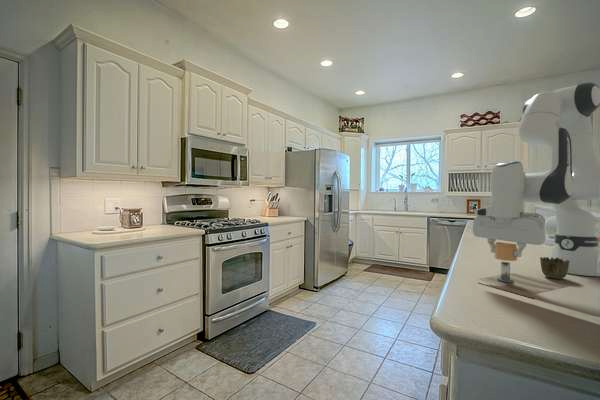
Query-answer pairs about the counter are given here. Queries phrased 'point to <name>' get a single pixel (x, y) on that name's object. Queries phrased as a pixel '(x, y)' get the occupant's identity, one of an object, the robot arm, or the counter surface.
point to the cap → (505, 251)
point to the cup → (554, 267)
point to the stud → (505, 273)
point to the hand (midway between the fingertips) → (505, 254)
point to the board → (526, 284)
